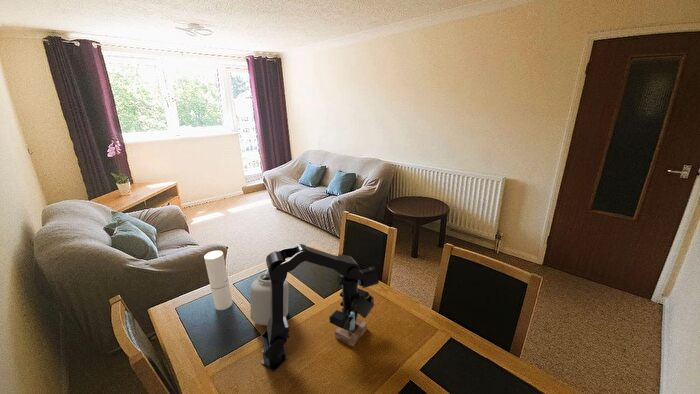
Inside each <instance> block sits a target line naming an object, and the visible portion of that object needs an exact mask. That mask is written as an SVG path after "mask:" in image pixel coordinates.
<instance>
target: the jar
mask: <svg viewBox="0 0 700 394" xmlns="http://www.w3.org/2000/svg"><path fill="white" fill-rule="evenodd" d="M266 271H268V268H267V269H266ZM249 288H250V290H249V291H250V298H249V299H250V306H249V307H250V308H249V309H250V319H251V320H252V322H253V323H255V324H257V325H259V326H268V321H269V319H270V317H271V298H270V277H269V272H264V273H261V274H260V275H258V276H257V278H256V279H255V280H253V282H251V284H250V287H249ZM288 314H289V281H288V279H287V278H286V279H285V281H284V285H283V317H284V316H286V317H287V316H288Z"/></svg>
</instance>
